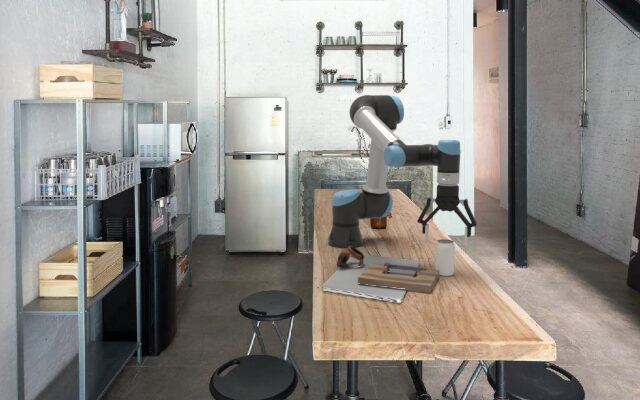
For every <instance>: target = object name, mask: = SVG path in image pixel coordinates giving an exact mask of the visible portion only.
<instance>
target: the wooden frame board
mask: <svg viewBox="0 0 640 400" xmlns="http://www.w3.org/2000/svg"><path fill="white" fill-rule="evenodd" d="M387 272H388V266H384V263H383V264H380V263H372V264H371V265H370V266H368V267H367V268H366V269H365V270H364V271H363V272H362V273H361V274H360V275H358V276H357V284H358V283H360V284H368V285H376V286H387V287H396V288H405V289H406V290H405V291H408V292H414V293H415V292H416V293H425V294H431V293H432V291H433V289H434V288H435V286H436V284H437V282H438V281H439V278H440V275H439V270H435V269H428V268H426V270H421V271H420V272H418V274H417V276H416V277H415V276H408V275H407V276H405V275H396V274H389V273H387ZM386 273H387V274H386Z"/></svg>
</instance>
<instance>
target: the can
mask: <svg viewBox="0 0 640 400" xmlns="http://www.w3.org/2000/svg"><path fill="white" fill-rule="evenodd" d="M455 248H456V245H455V243H454V240H452V239H447V238H446V239H445V238H443V239H442V238H441V239H438V240H437V242H436V244H435V259H434V260H435V262H434V263H435V265H434V270H439V277H452V276H453V275H454V273H455V272H454V270H455Z"/></svg>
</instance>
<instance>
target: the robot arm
mask: <svg viewBox="0 0 640 400" xmlns="http://www.w3.org/2000/svg"><path fill="white" fill-rule="evenodd" d="M349 117H350V118H349V119H350V121H351V123H353V124H354V126H355V127H356V128H358V129H362V131H363V132H364V133H365V134H366V135H367V136H368V137H369V138H370V139H371V140H370V147H369V156H368V157H369V158H368V166H367V175H366V183H365V184H364V185H363V186H362V190H361V192H360V191H359V190H358V189H345V190H340V191H337V192H335V193H333V195H332V202H331V205H332V207H331V208H332V209H331V210H332V212H331V213H332V215H331V216H332V217H331V218H332V220H331V221H332V224H331V229H330V233H329V236H328V243H327V244H328V245H329V246H331V247H335V248H343V249H347V248H348V247H349V246H351V247H354V248H357V247H361V246H363V244H364V239H363V236H362V233H361V228H360V220H368V219H369V220H370V219H381V218H384V217H387V216H389V215H390V213H391V211H392V209H393V206H394V205H393V204H394V202H393V201H394V200H393V195H392V194H391V192H390V189H389V188H388V187H387V181H388V180H387V179H388V173H389V167H391V168H401V167H402V168H403V167H425V166H426V167H427V166H431V167H432V166H434V167H437V171H436V174H437V176H436V183H437V184H436V185H437V186H436V196H435V197H432V196H429V197H428V198H427V199H426V205H425V206H424V208H423V209H422V211H421V213H420V215H419V217H418V218H417V221H416V222H417V223H418V224H421V225H422V228H421V229H422V230H421V232H422V233H421V234H423V235H424V244H428V243H429V237H430V235H429V233H430V232H429V231H430V224H429V223H428V222H429V221H430V220H431V219H432V218H433V217H434V216H435V215H436V214H437V213H438V212H439V211H441V212H454V213H455V214H456V215H457V216H458V218H459V219H461V222H462V223H464V225H465V227H464V247H468V242H469V241H468V238H470V237H471V236H472V228H474V227H477V225H478V222H477V221H476V219H475V216H474V214H473V212H472V210H471V207H470V205H469V199H468V198H464V199H460V198H459V197H460V195H459V193H460V186H459V185H460V174H461V172H460V168H461V167H460V165H461V153H462V152H461V142H460V140H457V139H440V140H438V142H437V144H432V143H425V144H424V143H423V144H405V142H404V141H402V140H401V139H400V137H398V136H397V135H396V134H395V133H394V132H395V131H396V130H397V127H398V125H399V124H401V123H402V122H403V120H404V118H405V108H404V104H403V102H402V100H401V99H400V97H398V96H396V95H389V94H379V95H378V94H374V95H370V94H364V95H361V96H358V97H357V98H356V99H354V100H353V101H352V103H351V105H350V106H349ZM434 203H435V204H436V208H434V210H433V211H432V212H431V213H430V214H429V215H428V216H427V217H426V218H425V216H426V214H427V212H428V210H429V209H430V206H431V205H432V204H434ZM459 204H461V205H462V206H463V207H464V209H465V213H466V215H467V216H468V218H469V219H468V218H467V217H466V215H465V214H464V213H463V212H462V211H461V210H460V208H459V207H458V206H459ZM424 218H425V219H424Z"/></svg>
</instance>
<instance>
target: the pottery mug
mask: <svg viewBox="0 0 640 400" xmlns="http://www.w3.org/2000/svg"><path fill="white" fill-rule="evenodd" d="M350 257H351V258H353V259H355V260H357V261H359V264H358V265H357V266H361V265H362V266H363V265H364V258H365V257H366V256H365V255H364V253H362V252H361V250H358V248H357V247H351V246H349V247H348V248H343V250H342V251H341V252H340V253H339V255H338V257H337V261H336V266H337V267H338V268H340V267H346V265H347V262H348V261H349V259H350ZM362 266H361V267H362Z"/></svg>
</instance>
